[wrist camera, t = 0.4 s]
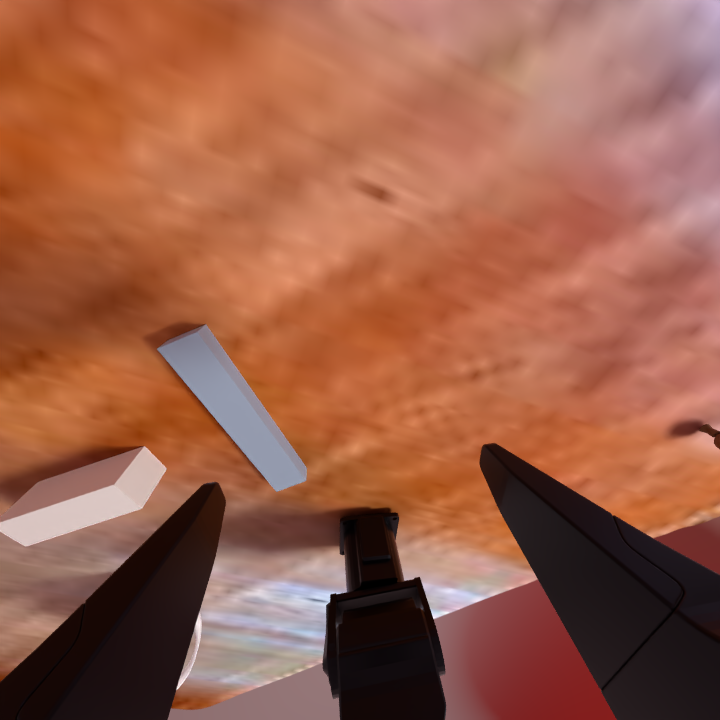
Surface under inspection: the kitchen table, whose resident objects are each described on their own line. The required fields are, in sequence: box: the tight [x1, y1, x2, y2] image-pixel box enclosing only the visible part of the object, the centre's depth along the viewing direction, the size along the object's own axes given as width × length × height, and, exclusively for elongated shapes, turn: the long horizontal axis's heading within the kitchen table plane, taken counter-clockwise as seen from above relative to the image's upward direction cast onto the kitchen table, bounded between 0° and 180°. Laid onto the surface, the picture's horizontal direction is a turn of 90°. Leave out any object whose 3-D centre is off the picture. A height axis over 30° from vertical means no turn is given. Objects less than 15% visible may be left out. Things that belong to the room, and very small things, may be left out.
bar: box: [157, 324, 307, 492], centre depth 23 cm, size 16×3×3 cm, turn 21°
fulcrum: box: [0, 446, 167, 547], centre depth 23 cm, size 11×12×5 cm
